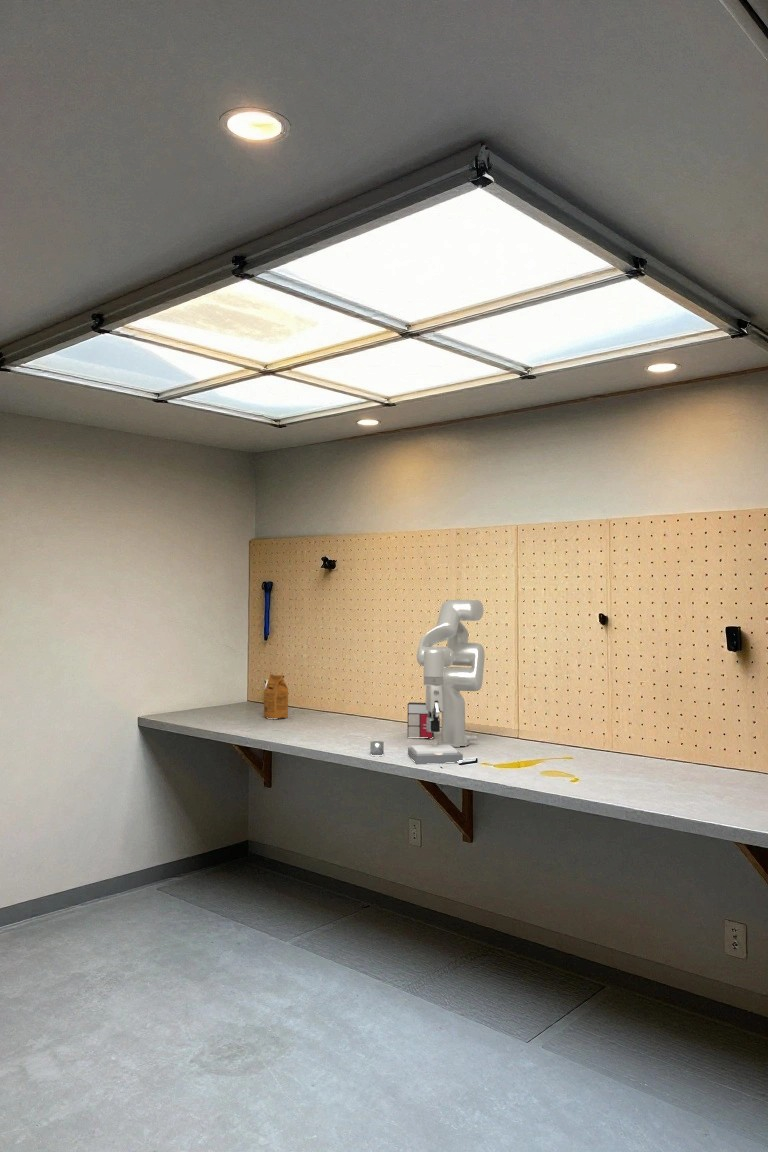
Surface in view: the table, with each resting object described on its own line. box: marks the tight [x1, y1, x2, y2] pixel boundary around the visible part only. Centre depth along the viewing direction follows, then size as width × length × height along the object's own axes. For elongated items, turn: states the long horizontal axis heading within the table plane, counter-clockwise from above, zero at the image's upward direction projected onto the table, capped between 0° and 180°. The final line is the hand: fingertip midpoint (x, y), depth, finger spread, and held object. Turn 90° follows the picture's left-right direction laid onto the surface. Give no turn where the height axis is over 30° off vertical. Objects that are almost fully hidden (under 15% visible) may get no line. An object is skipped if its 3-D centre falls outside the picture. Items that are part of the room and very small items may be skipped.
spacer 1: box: [369, 740, 385, 755], centre depth 312 cm, size 5×5×5 cm
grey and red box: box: [407, 701, 435, 738], centre depth 352 cm, size 11×4×15 cm, turn 80°
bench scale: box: [407, 744, 464, 765], centre depth 305 cm, size 17×17×4 cm
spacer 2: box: [427, 717, 441, 733], centre depth 307 cm, size 5×5×5 cm
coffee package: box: [263, 673, 289, 719], centre depth 413 cm, size 10×12×22 cm
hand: (433, 729), depth 307 cm, fingers closed on spacer 2, 5 cm apart
